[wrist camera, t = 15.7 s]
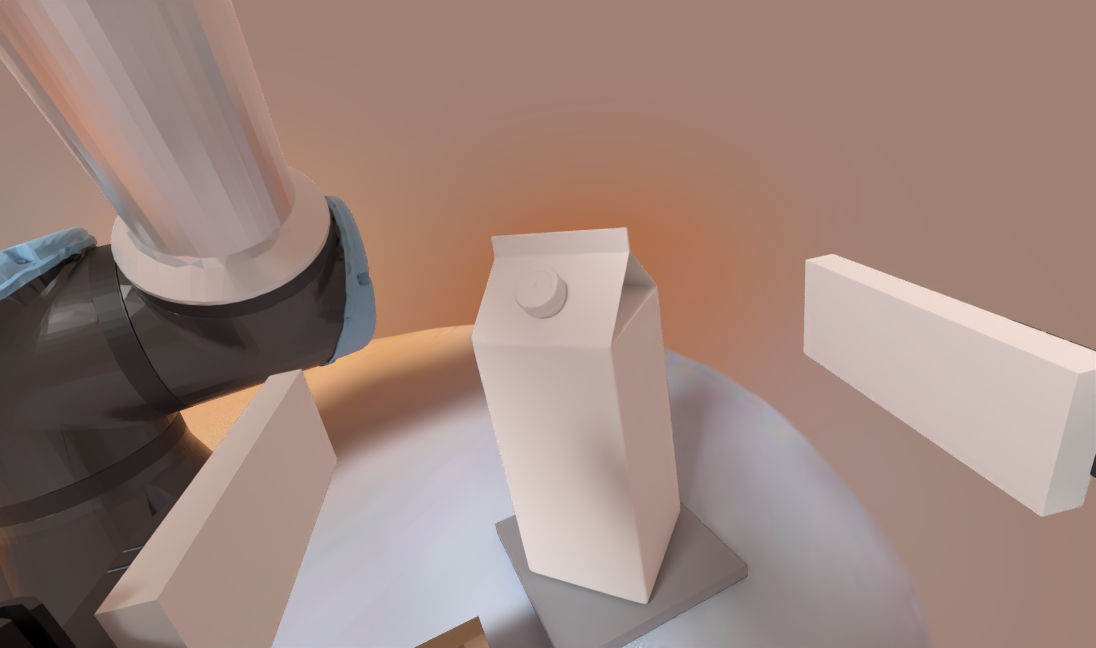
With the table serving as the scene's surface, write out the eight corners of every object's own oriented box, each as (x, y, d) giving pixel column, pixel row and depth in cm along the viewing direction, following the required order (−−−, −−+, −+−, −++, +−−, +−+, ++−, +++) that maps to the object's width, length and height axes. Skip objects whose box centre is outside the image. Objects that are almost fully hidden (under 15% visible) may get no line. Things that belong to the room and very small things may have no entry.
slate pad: (497, 533, 35) (494, 524, 35) (638, 469, 38) (637, 461, 38) (567, 677, 25) (564, 666, 25) (747, 576, 29) (746, 565, 28)
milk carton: (578, 491, 36) (525, 219, 29) (681, 512, 33) (650, 209, 26) (529, 573, 30) (449, 259, 23) (648, 608, 27) (596, 252, 20)
